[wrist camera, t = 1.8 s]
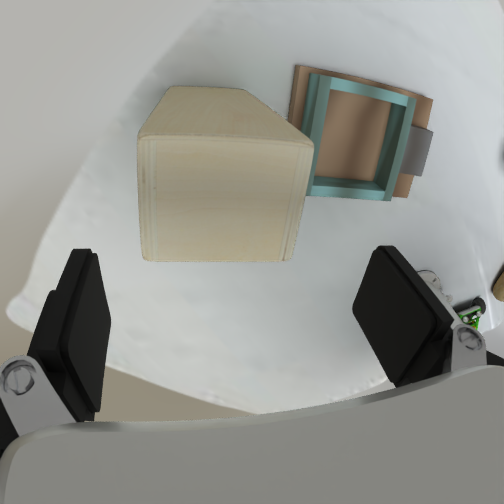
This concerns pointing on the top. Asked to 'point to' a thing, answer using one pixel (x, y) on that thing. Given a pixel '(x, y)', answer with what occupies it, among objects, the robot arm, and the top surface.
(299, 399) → the top surface
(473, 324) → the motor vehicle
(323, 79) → the board
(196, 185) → the beige long rectangular block
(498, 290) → the bread roll
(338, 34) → the top surface
